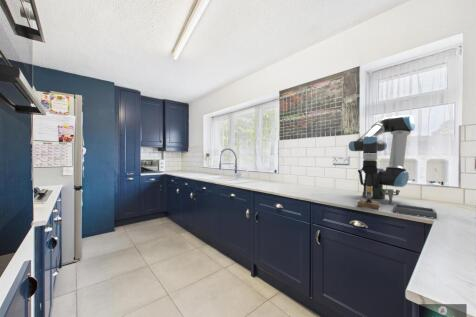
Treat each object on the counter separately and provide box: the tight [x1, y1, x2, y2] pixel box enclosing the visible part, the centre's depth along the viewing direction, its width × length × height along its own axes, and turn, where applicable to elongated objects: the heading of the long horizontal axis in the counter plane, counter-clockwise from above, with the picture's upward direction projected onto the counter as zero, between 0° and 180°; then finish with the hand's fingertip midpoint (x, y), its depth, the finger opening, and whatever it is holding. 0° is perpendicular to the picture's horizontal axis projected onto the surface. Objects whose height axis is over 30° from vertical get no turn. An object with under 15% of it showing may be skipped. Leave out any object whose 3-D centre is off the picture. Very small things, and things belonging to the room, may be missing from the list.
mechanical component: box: [382, 188, 401, 205], centre depth 138 cm, size 3×10×10 cm, turn 78°
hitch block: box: [357, 198, 380, 211], centre depth 130 cm, size 11×11×3 cm
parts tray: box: [393, 203, 438, 219], centre depth 116 cm, size 11×18×3 cm, turn 52°
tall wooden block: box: [366, 186, 372, 203], centre depth 130 cm, size 5×2×10 cm, turn 142°
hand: (369, 196), depth 130 cm, fingers closed on tall wooden block, 2 cm apart
